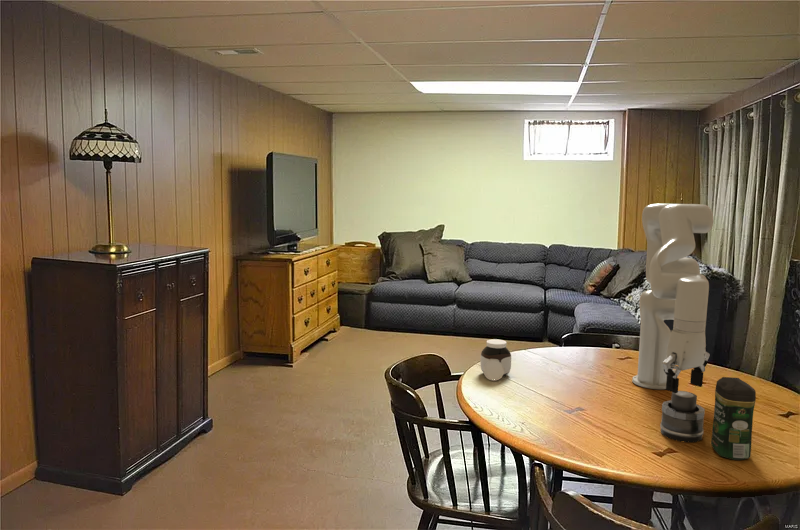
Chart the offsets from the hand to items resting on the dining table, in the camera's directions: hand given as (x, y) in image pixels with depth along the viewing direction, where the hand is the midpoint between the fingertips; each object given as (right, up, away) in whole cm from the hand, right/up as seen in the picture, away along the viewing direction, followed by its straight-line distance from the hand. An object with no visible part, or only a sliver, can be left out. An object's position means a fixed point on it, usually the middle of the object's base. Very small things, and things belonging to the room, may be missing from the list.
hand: (684, 388), depth 162 cm
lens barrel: (0, -13, +1) cm, 13 cm away
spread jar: (-42, -6, +48) cm, 65 cm away
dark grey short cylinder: (0, -7, 0) cm, 7 cm away
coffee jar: (+7, -14, -10) cm, 19 cm away
